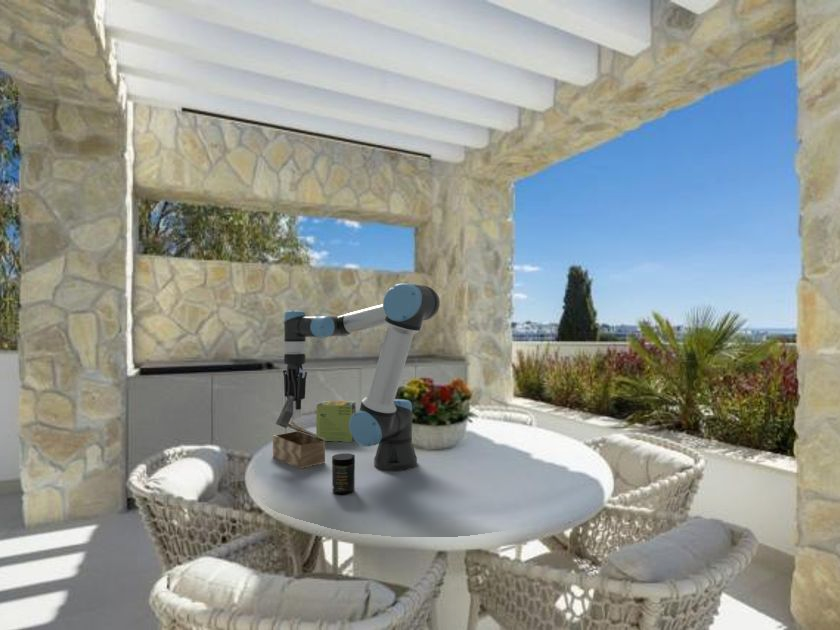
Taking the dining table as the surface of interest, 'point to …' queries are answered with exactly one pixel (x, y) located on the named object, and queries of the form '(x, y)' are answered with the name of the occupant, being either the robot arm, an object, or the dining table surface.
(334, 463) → the supplement container
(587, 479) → the dining table surface
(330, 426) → the protein box
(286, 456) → the wooden box
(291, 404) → the wooden stand with strip
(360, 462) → the dining table surface
